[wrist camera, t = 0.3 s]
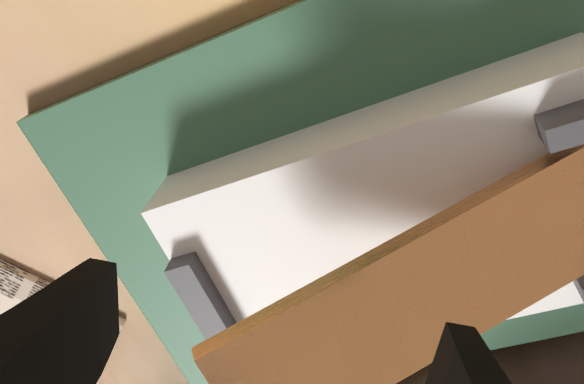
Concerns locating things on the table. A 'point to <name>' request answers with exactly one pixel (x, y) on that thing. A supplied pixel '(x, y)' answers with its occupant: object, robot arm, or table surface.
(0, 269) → the newspaper
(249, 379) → the strip
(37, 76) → the table surface
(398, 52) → the board
